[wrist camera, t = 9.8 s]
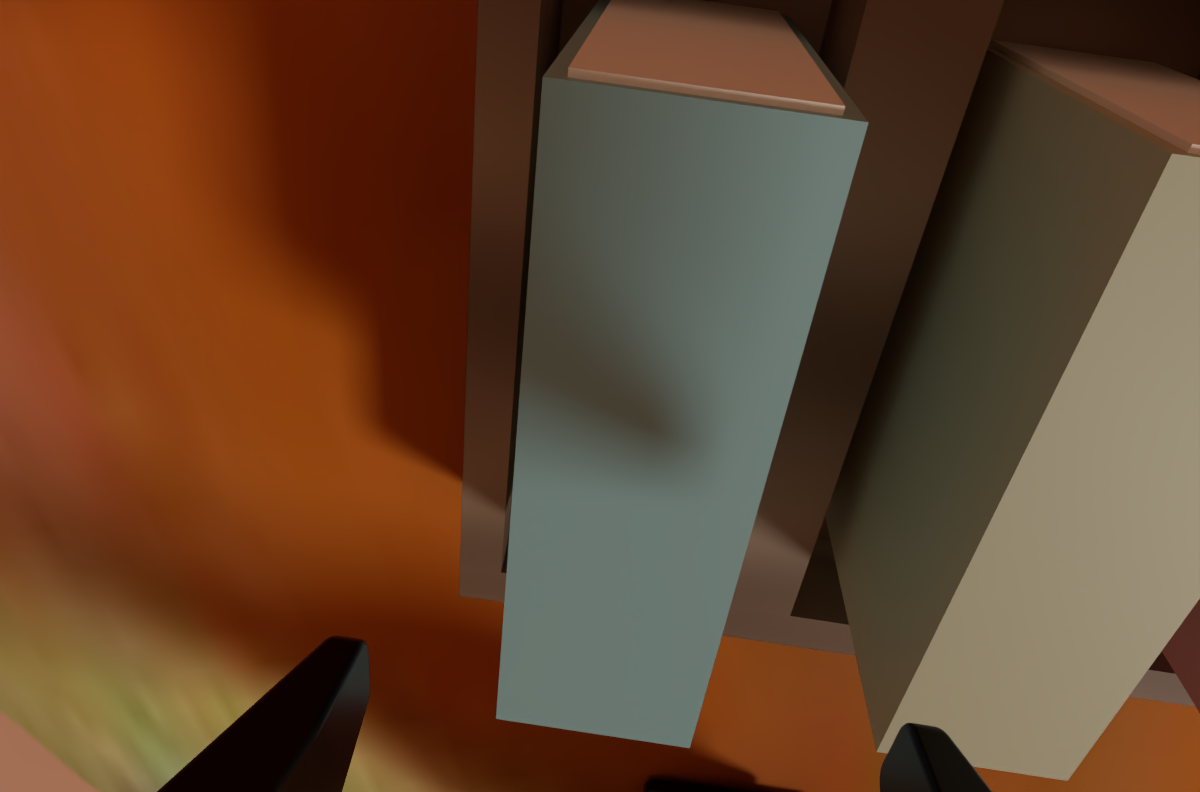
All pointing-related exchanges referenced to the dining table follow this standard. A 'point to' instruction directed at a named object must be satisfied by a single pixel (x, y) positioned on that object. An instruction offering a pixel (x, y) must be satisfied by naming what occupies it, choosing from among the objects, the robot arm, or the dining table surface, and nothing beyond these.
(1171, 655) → the burgundy book
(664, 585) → the teal book
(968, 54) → the book rack
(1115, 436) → the olive book
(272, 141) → the dining table surface
